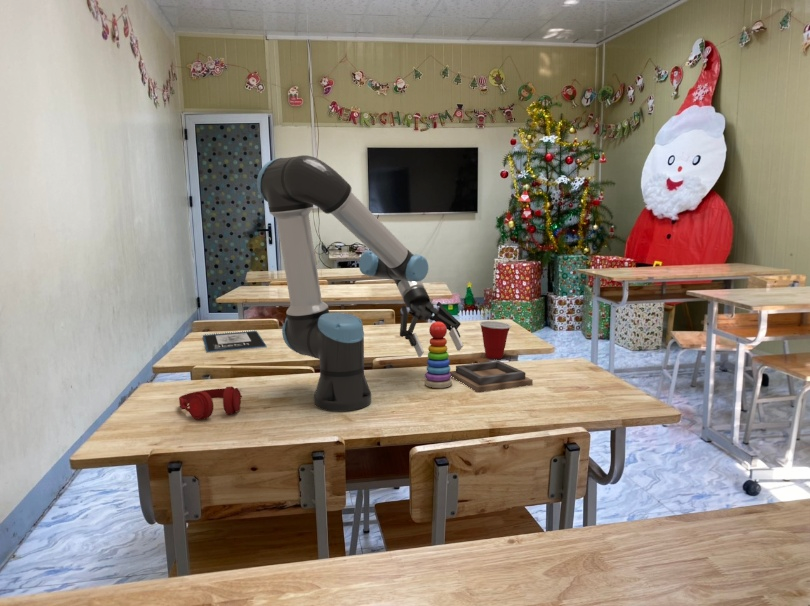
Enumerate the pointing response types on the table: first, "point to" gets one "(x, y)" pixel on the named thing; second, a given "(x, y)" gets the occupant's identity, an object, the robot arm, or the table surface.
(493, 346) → the plastic cup
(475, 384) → the board
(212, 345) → the sketchbook
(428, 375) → the stacking toy
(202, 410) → the headphones
